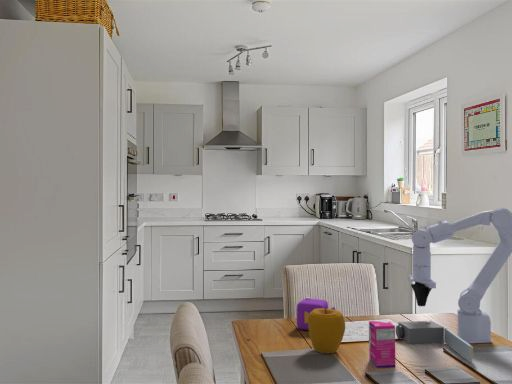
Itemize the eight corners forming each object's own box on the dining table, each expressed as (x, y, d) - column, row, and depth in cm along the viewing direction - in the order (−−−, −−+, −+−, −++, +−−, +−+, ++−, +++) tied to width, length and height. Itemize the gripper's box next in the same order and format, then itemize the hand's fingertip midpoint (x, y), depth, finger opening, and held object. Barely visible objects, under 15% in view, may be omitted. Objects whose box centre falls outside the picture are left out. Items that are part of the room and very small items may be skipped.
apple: (347, 347, 148) (347, 305, 148) (341, 358, 138) (341, 313, 138) (312, 343, 152) (312, 302, 152) (304, 354, 142) (304, 310, 142)
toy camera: (336, 334, 163) (336, 304, 163) (295, 331, 165) (295, 302, 165) (337, 325, 173) (337, 297, 173) (299, 323, 176) (299, 295, 176)
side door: (443, 341, 153) (443, 327, 153) (448, 341, 153) (448, 327, 153) (469, 361, 134) (469, 346, 134) (474, 361, 134) (474, 346, 134)
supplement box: (368, 360, 136) (368, 320, 137) (388, 360, 137) (388, 319, 137) (374, 368, 131) (375, 325, 131) (396, 367, 131) (396, 325, 131)
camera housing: (431, 335, 161) (431, 318, 161) (443, 343, 153) (443, 325, 153) (394, 337, 159) (394, 320, 159) (405, 344, 151) (406, 326, 151)
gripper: (400, 262, 169) (400, 301, 169) (421, 269, 155) (421, 311, 155) (419, 262, 170) (418, 300, 170) (441, 268, 156) (441, 310, 156)
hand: (421, 305), depth 163 cm, fingers closed
